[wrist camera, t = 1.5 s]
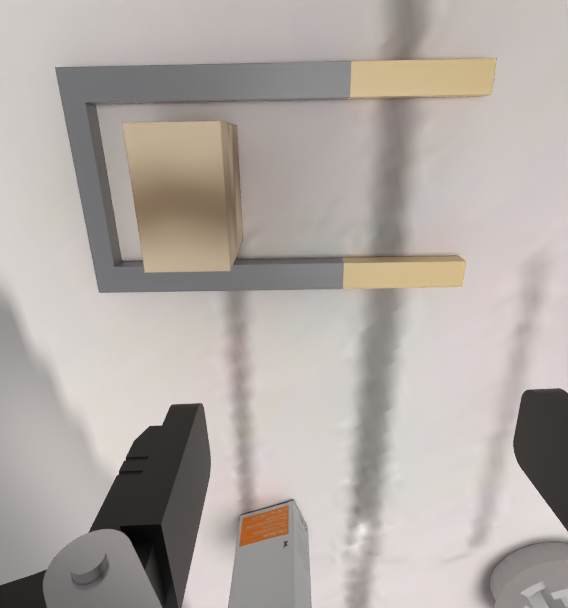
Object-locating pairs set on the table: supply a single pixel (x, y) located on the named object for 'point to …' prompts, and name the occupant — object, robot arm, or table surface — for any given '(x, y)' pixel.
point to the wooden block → (186, 194)
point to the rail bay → (252, 87)
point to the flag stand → (532, 577)
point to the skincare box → (271, 560)
